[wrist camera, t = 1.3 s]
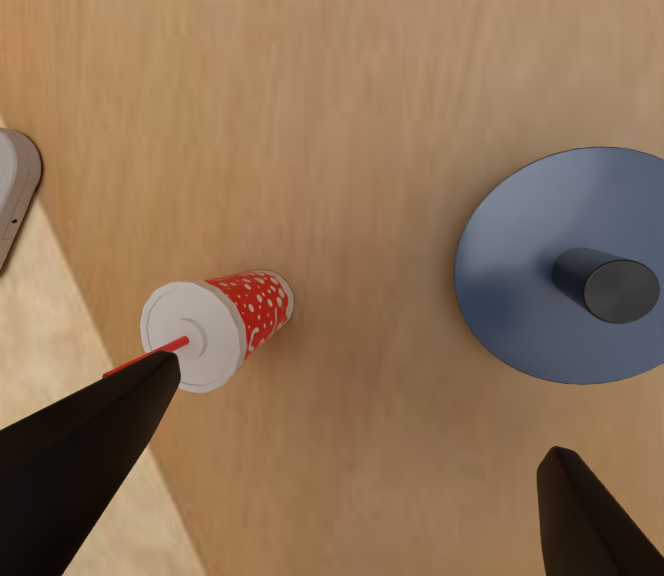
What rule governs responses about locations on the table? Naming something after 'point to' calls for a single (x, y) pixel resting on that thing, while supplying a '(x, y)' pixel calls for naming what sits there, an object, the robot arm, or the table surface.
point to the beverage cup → (214, 324)
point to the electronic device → (15, 183)
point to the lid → (569, 266)
